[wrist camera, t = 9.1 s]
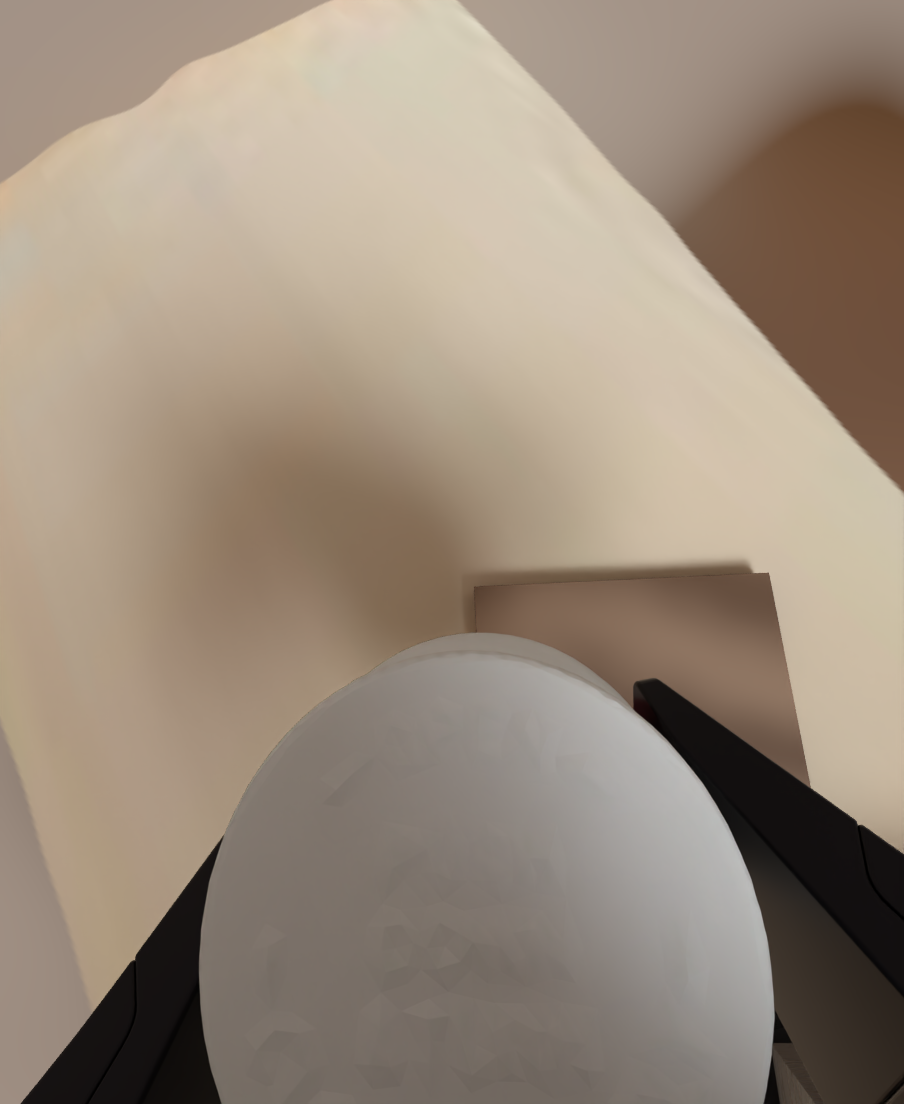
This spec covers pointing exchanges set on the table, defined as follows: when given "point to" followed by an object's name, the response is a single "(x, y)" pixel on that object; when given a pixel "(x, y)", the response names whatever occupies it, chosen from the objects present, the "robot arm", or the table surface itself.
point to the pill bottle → (482, 901)
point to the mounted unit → (788, 1072)
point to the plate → (669, 645)
